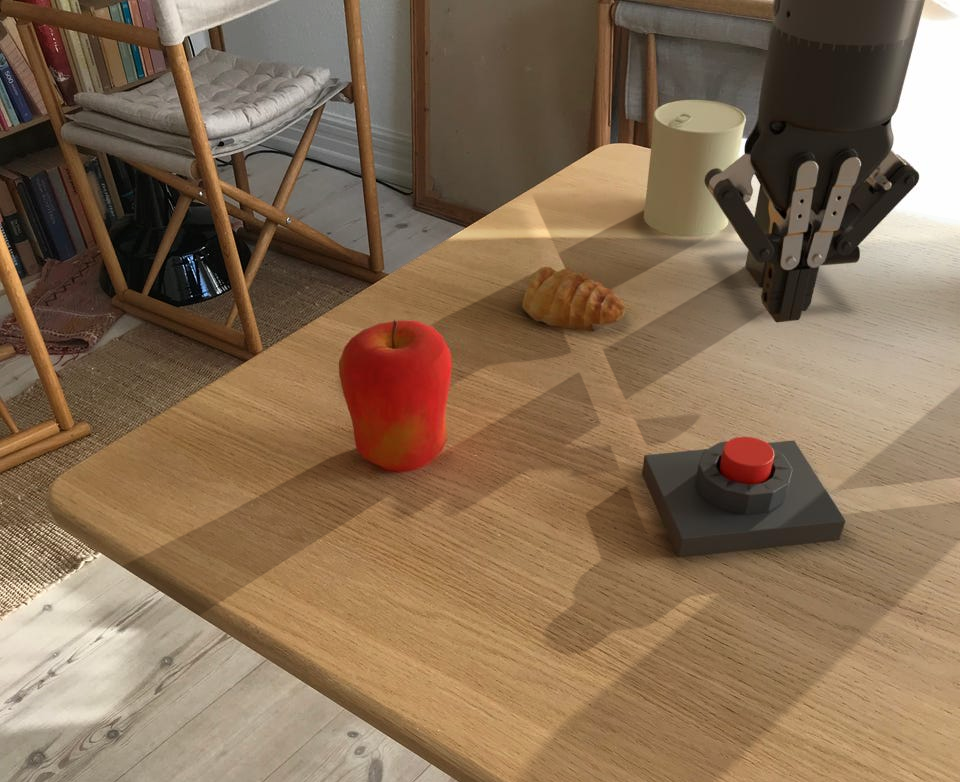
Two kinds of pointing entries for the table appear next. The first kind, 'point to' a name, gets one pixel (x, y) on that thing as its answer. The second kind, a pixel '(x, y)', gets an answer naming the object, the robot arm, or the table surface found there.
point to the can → (690, 165)
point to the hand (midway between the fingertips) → (782, 315)
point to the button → (746, 460)
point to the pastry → (570, 300)
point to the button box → (739, 502)
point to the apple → (397, 393)
